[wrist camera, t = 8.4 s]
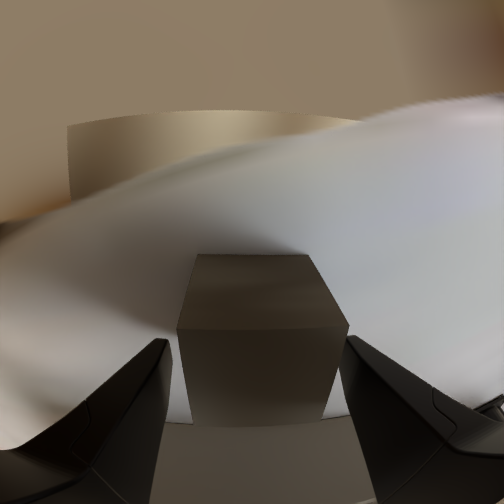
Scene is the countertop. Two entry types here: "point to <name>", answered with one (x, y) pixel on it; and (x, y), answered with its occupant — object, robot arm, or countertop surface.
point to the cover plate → (169, 141)
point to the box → (262, 465)
